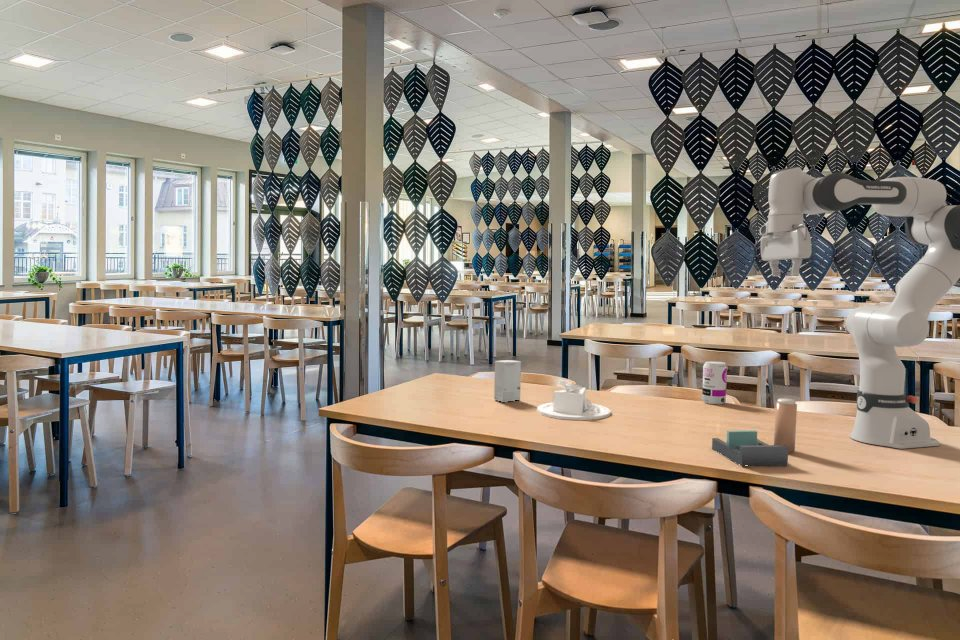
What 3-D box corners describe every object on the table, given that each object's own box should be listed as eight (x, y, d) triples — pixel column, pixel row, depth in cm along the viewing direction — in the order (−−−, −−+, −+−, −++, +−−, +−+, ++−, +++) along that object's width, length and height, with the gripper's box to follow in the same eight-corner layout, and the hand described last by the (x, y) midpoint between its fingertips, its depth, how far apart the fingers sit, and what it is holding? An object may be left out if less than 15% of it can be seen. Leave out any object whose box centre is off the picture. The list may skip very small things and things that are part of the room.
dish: (591, 424, 208) (592, 389, 207) (523, 414, 222) (523, 381, 221) (622, 411, 228) (622, 379, 227) (558, 402, 242) (558, 372, 241)
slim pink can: (787, 448, 182) (790, 398, 180) (798, 453, 176) (801, 401, 175) (769, 448, 181) (772, 398, 180) (780, 453, 176) (782, 402, 175)
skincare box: (503, 403, 238) (503, 362, 237) (493, 400, 243) (493, 360, 242) (521, 400, 243) (521, 360, 242) (511, 398, 248) (511, 358, 246)
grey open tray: (753, 448, 181) (754, 430, 181) (787, 466, 165) (788, 446, 164) (712, 448, 180) (712, 430, 179) (741, 466, 163) (742, 447, 163)
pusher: (754, 451, 177) (754, 430, 176) (761, 455, 173) (762, 433, 173) (726, 452, 176) (727, 430, 176) (732, 455, 172) (733, 434, 172)
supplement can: (727, 402, 244) (729, 362, 243) (722, 406, 238) (724, 364, 236) (705, 399, 249) (706, 360, 248) (699, 403, 242) (701, 362, 241)
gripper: (818, 222, 173) (817, 275, 174) (777, 229, 194) (776, 276, 194) (795, 222, 173) (794, 275, 174) (756, 229, 193) (756, 276, 194)
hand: (785, 276), depth 184 cm, fingers open, 8 cm apart
